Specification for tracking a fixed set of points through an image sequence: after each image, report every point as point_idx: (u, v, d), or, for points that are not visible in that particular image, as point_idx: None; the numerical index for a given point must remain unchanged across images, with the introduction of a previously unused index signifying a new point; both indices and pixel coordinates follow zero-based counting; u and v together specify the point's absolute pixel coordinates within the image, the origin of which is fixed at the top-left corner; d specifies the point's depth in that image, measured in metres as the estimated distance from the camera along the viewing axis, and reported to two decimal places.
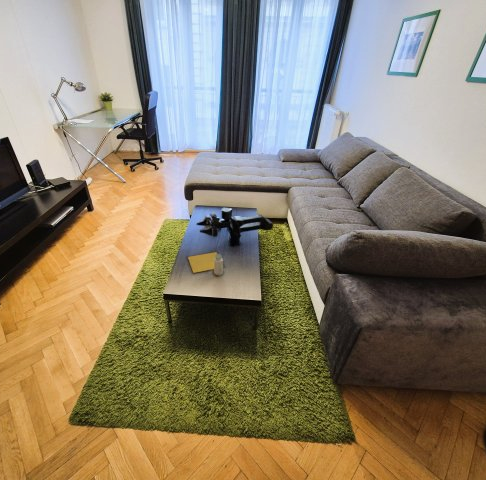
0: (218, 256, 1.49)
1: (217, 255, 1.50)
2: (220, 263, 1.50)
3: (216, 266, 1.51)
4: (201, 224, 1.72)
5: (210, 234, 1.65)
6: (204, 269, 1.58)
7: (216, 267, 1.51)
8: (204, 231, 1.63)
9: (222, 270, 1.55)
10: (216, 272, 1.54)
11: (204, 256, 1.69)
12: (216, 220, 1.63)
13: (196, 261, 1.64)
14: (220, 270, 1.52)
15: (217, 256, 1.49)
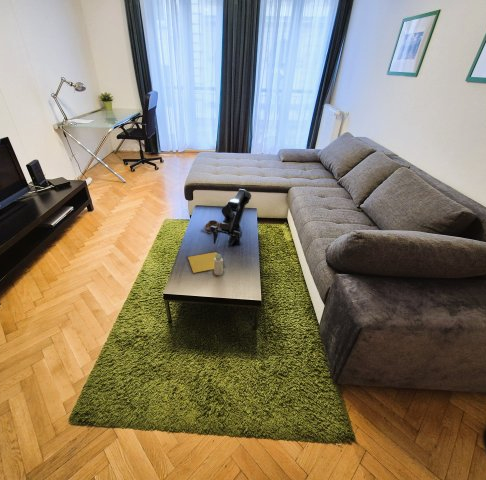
0: (218, 256, 1.49)
1: (217, 255, 1.50)
2: (220, 263, 1.50)
3: (216, 266, 1.51)
4: None
5: (235, 239, 1.57)
6: (204, 269, 1.58)
7: (216, 267, 1.51)
8: (231, 243, 1.55)
9: (222, 270, 1.55)
10: (216, 272, 1.54)
11: (204, 256, 1.69)
12: (231, 227, 1.51)
13: (196, 261, 1.64)
14: (220, 270, 1.52)
15: (217, 256, 1.49)
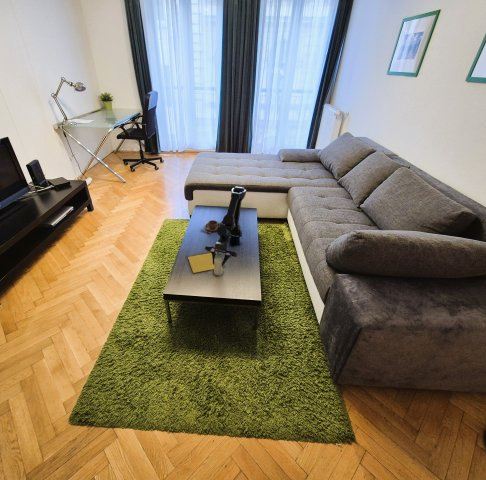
0: (218, 256, 1.49)
1: (217, 255, 1.50)
2: (220, 263, 1.50)
3: (216, 266, 1.51)
4: None
5: (228, 257, 1.54)
6: (204, 269, 1.58)
7: (216, 267, 1.51)
8: (224, 262, 1.51)
9: (222, 270, 1.55)
10: (216, 272, 1.54)
11: (204, 256, 1.69)
12: (227, 247, 1.47)
13: (196, 261, 1.64)
14: (220, 270, 1.52)
15: (217, 256, 1.49)
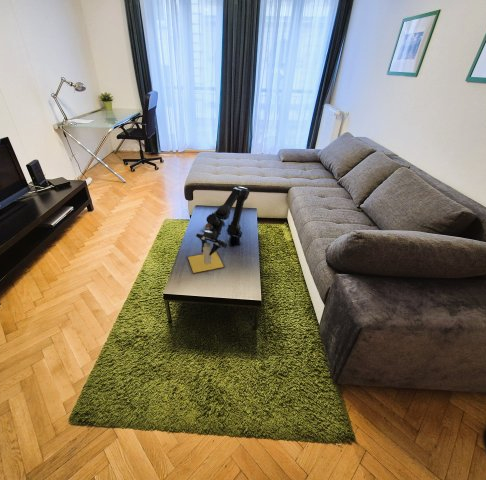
0: (206, 244, 1.48)
1: (206, 243, 1.49)
2: (208, 252, 1.49)
3: (204, 254, 1.51)
4: None
5: (218, 247, 1.52)
6: (204, 269, 1.58)
7: (204, 255, 1.51)
8: (213, 251, 1.50)
9: (211, 259, 1.54)
10: (204, 260, 1.53)
11: None
12: (215, 236, 1.45)
13: (196, 261, 1.64)
14: (207, 258, 1.52)
15: (205, 244, 1.48)
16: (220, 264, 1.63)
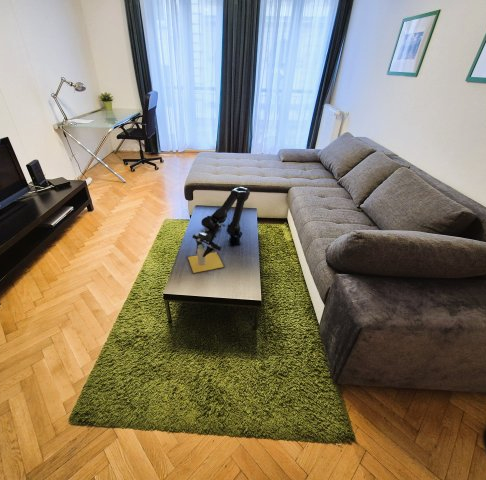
0: (200, 246, 1.52)
1: (200, 245, 1.53)
2: (201, 253, 1.53)
3: (198, 256, 1.54)
4: None
5: (212, 249, 1.55)
6: (204, 269, 1.58)
7: (198, 257, 1.55)
8: (206, 253, 1.53)
9: (204, 261, 1.57)
10: (198, 262, 1.57)
11: None
12: (208, 238, 1.49)
13: (196, 261, 1.64)
14: (201, 260, 1.55)
15: (199, 246, 1.52)
16: (220, 264, 1.63)
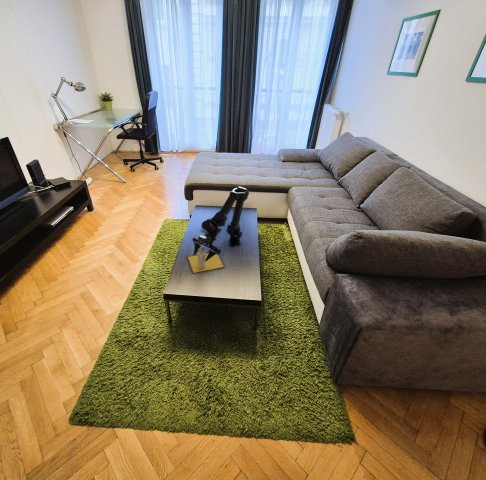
0: (200, 249, 1.54)
1: (200, 248, 1.54)
2: (201, 257, 1.54)
3: (198, 259, 1.56)
4: (197, 250, 1.59)
5: (214, 254, 1.55)
6: (204, 269, 1.58)
7: (198, 260, 1.56)
8: (208, 257, 1.53)
9: (205, 264, 1.58)
10: (198, 265, 1.58)
11: None
12: (208, 241, 1.50)
13: (196, 261, 1.64)
14: (201, 263, 1.57)
15: (200, 249, 1.54)
16: (220, 264, 1.63)
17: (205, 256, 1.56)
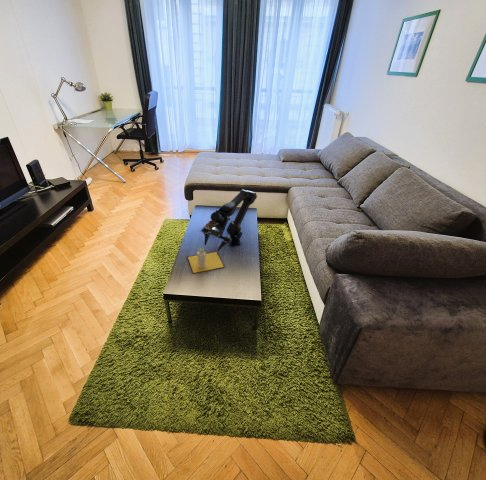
0: (200, 249, 1.54)
1: (200, 248, 1.54)
2: (201, 257, 1.54)
3: (198, 259, 1.56)
4: (207, 240, 1.64)
5: (225, 243, 1.62)
6: (204, 269, 1.58)
7: (198, 260, 1.56)
8: (221, 247, 1.61)
9: (205, 264, 1.58)
10: (198, 265, 1.58)
11: None
12: (222, 233, 1.55)
13: (196, 261, 1.64)
14: (201, 263, 1.57)
15: (200, 249, 1.54)
16: (220, 264, 1.63)
17: (205, 256, 1.56)
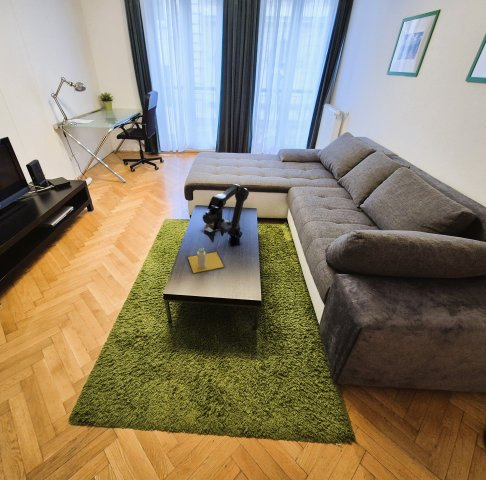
0: (200, 249, 1.54)
1: (200, 248, 1.54)
2: (201, 257, 1.54)
3: (198, 259, 1.56)
4: None
5: None
6: (204, 269, 1.58)
7: (198, 260, 1.56)
8: None
9: (205, 264, 1.58)
10: (198, 265, 1.58)
11: None
12: None
13: (196, 261, 1.64)
14: (201, 263, 1.57)
15: (200, 249, 1.54)
16: (220, 264, 1.63)
17: (205, 256, 1.56)
